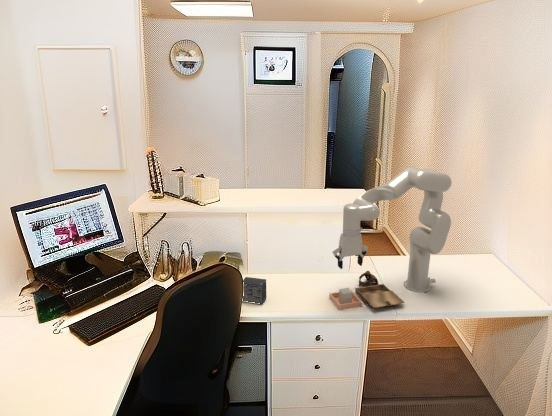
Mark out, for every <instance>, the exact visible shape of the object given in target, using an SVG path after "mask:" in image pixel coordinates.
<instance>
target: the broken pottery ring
mask: <svg viewBox="0 0 552 416" xmlns="http://www.w3.org/2000/svg"><path fill="white" fill-rule="evenodd" d="M362 278H365V280H366V281H362V280H361V279H362ZM358 279H359V280H358V285H359V286H360V287H367V286H372V284H375V285H380V284H379V280H378V278H377V276H375V275H374V274H372V273H371V272H370V270H366V271H365V272H363V273H362V274H360V275H359V277H358Z"/></svg>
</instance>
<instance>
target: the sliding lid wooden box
mask: <svg viewBox="0 0 552 416" xmlns="http://www.w3.org/2000/svg"><path fill="white" fill-rule="evenodd" d="M354 289H355V290H354V294H355V295H356V296H357V297H358V298H359V299H360V300H361V301H362V303H364V304H365V305H370V306H371V307H372V308H373V309H376V308H377V309H378V308H383V307H389V306H394V305H401V304H405V301H404V300H403V299H402V298H401V297H399V295H398V294H397V293H395V291H393V290H390V288H388V286H386V285H385V284H384V283H381V284H379V285H377V284H375V285H371V286H367V287H362V286H360V287H355V288H354Z"/></svg>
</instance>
